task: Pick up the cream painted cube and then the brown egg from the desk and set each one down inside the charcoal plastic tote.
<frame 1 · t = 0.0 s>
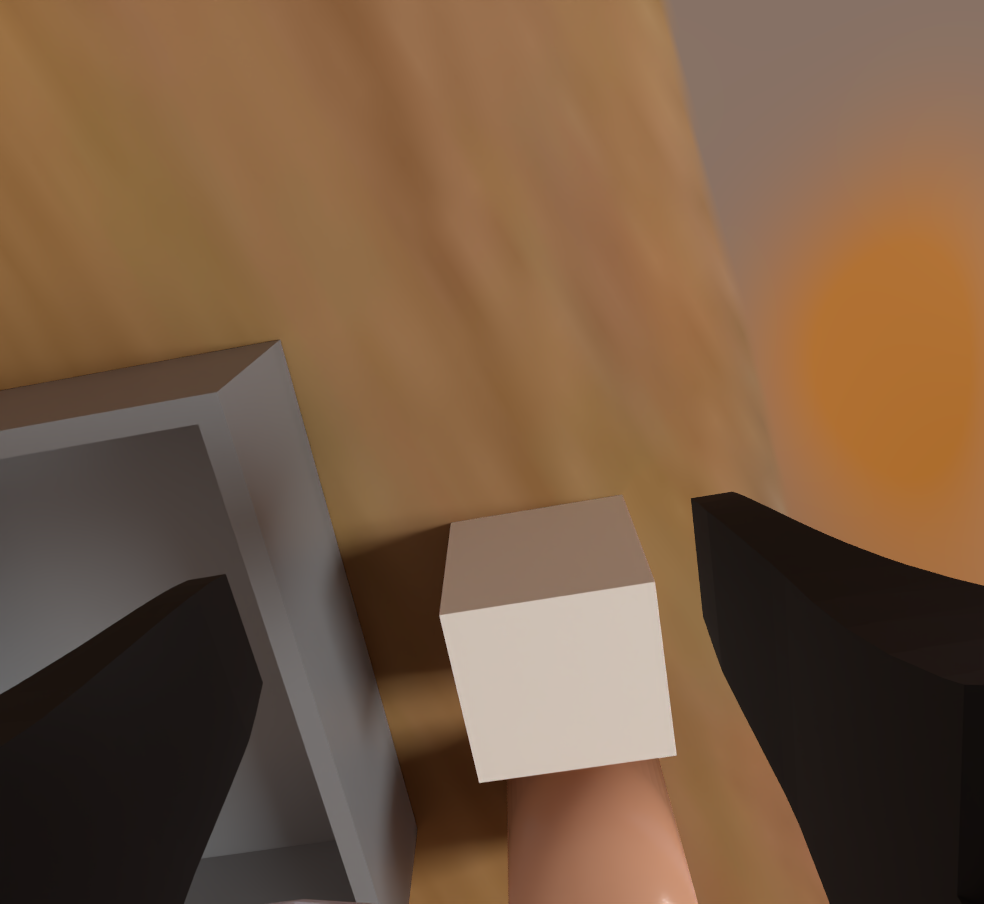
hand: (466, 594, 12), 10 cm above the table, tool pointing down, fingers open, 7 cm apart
tote: (149, 647, 24), on the table
brown egg: (582, 767, 26), on the table
cube: (549, 582, 23), on the table
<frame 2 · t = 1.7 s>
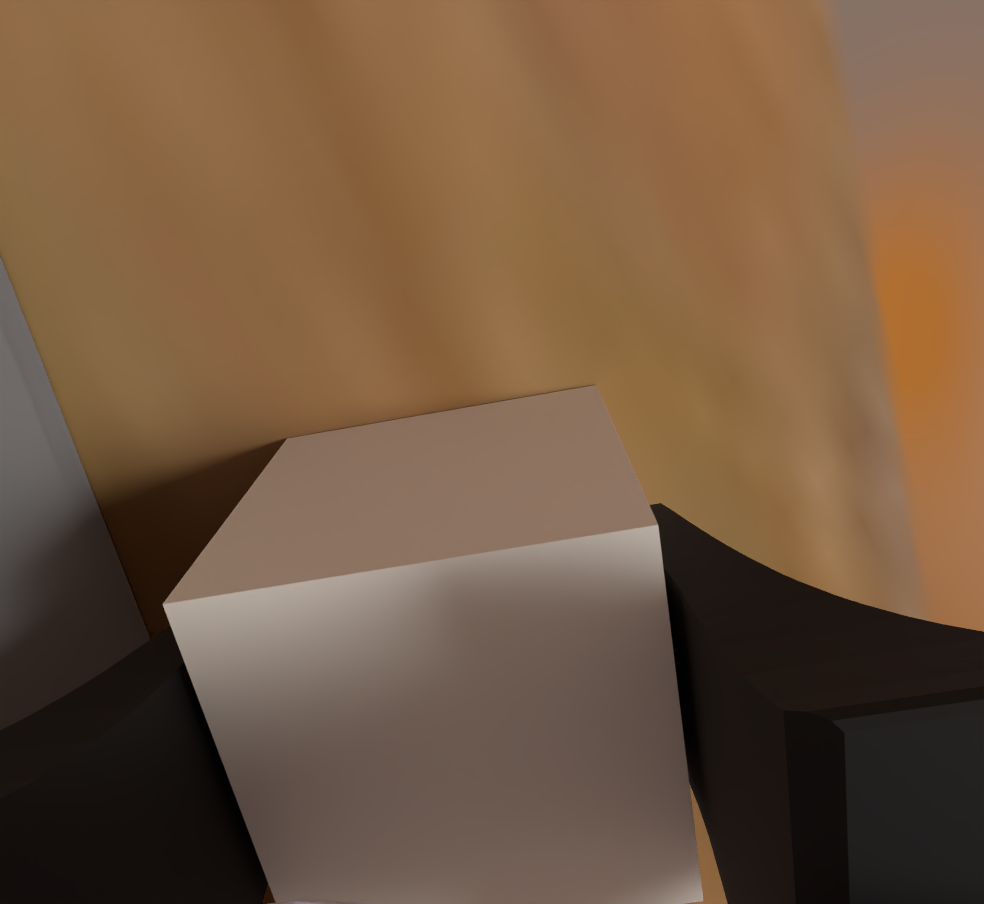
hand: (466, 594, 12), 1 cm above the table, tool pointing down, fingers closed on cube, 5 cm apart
cube: (469, 550, 13), on the table, touching gripper
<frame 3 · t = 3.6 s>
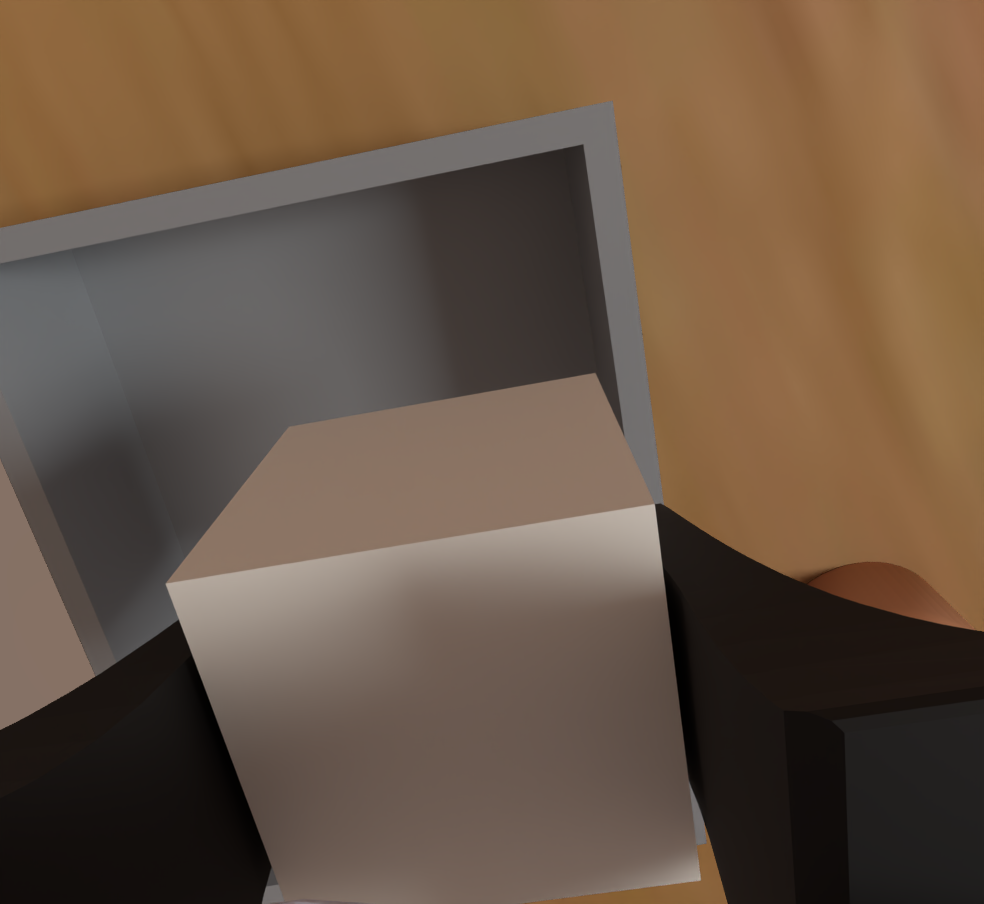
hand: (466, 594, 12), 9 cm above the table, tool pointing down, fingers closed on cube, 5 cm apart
tote: (393, 496, 22), on the table
brown egg: (858, 636, 23), on the table
cube: (469, 538, 13), point 8 cm above the table, touching gripper
when the fingers open (4 cm above the table, at t = 5.3 s): cube drops 2 cm, resting on tote.
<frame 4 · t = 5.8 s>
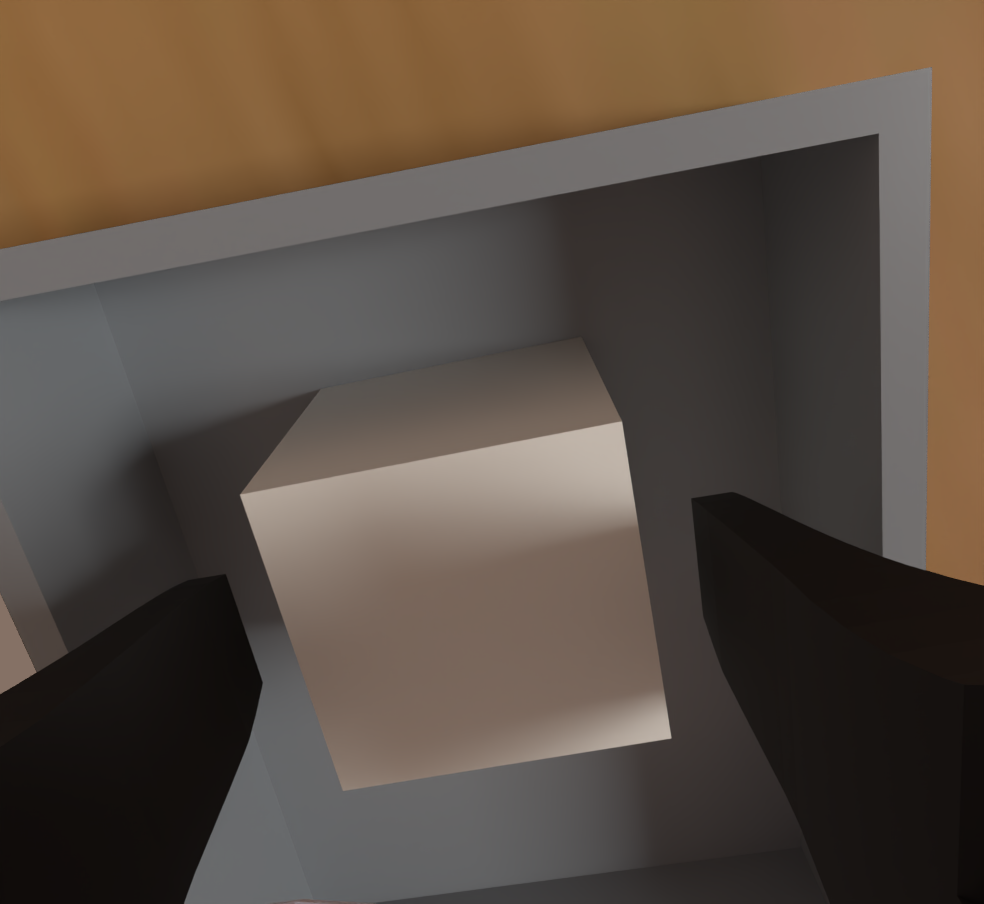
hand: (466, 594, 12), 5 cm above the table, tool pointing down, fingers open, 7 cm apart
tote: (496, 585, 17), on the table
cube: (477, 483, 16), point 1 cm above the table, touching tote
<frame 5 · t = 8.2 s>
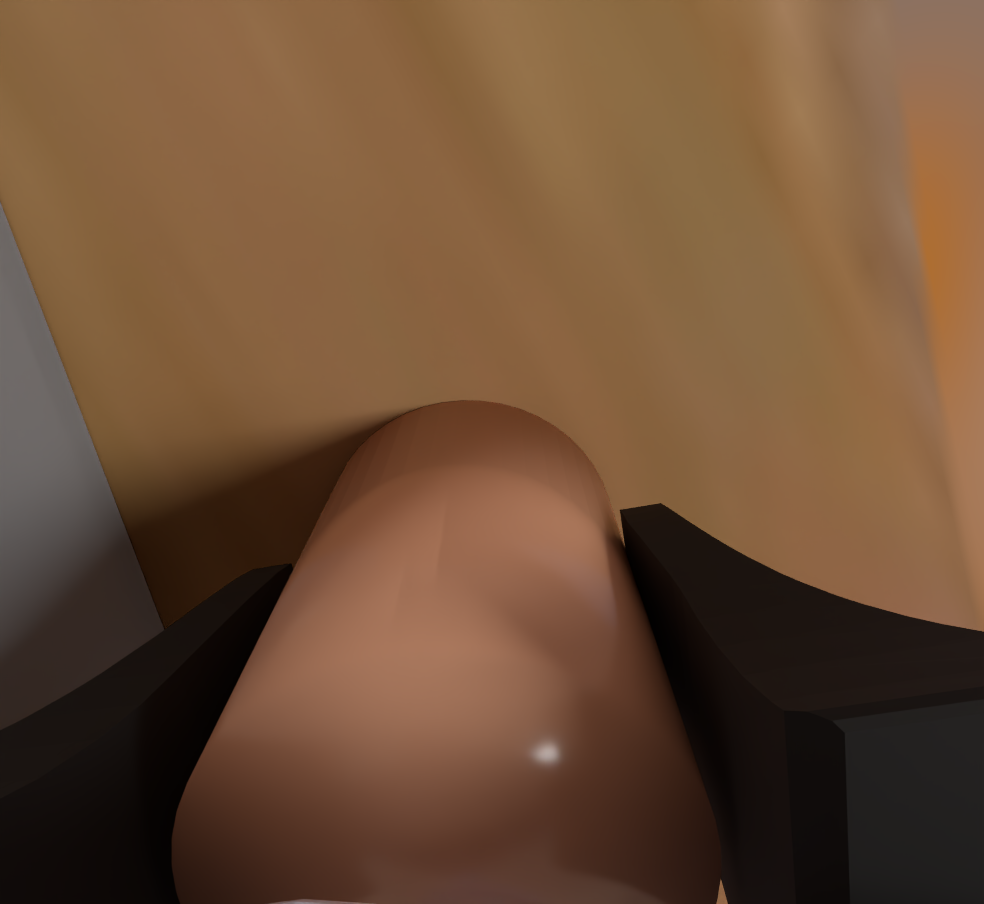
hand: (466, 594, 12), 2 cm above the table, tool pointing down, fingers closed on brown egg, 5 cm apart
brown egg: (470, 537, 14), on the table, touching gripper
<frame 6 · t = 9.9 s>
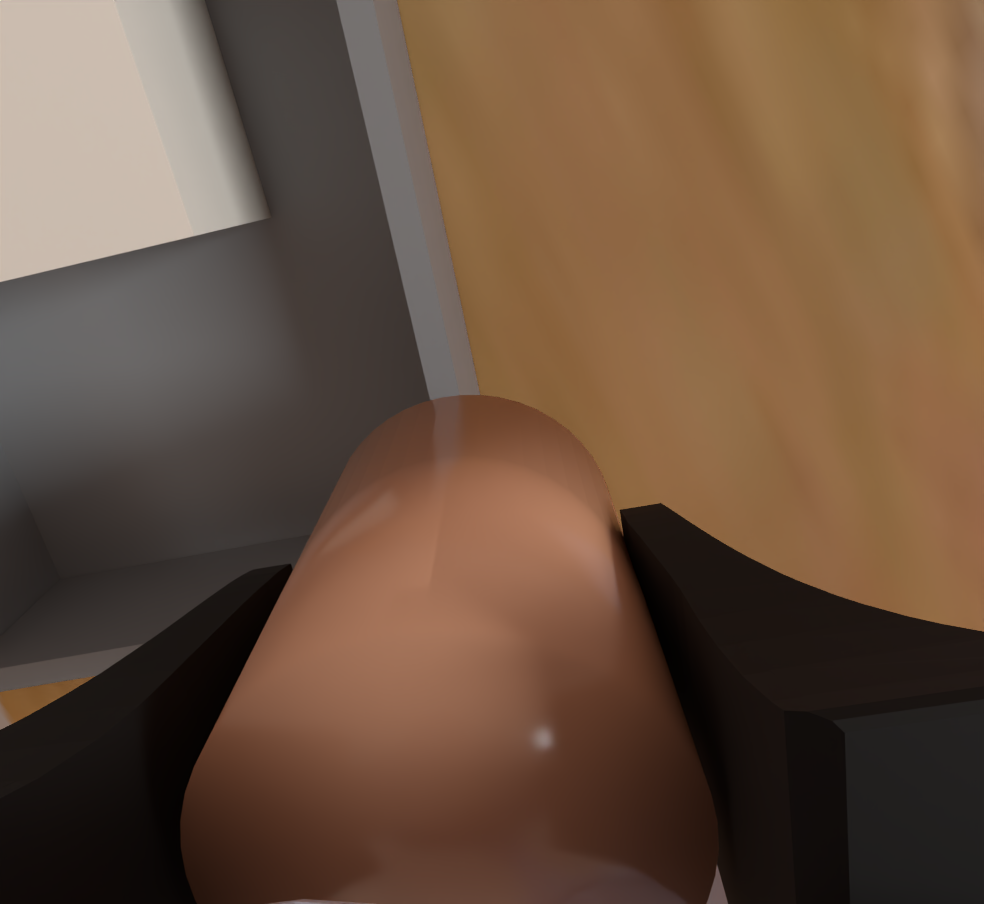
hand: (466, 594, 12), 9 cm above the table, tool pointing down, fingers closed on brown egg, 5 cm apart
tote: (177, 246, 19), on the table
brown egg: (472, 530, 14), point 7 cm above the table, touching gripper
cube: (133, 131, 18), point 1 cm above the table, touching tote
when the fingers open (6 cm above the table, at t = 11.5 s): brown egg drops 3 cm, resting on tote.
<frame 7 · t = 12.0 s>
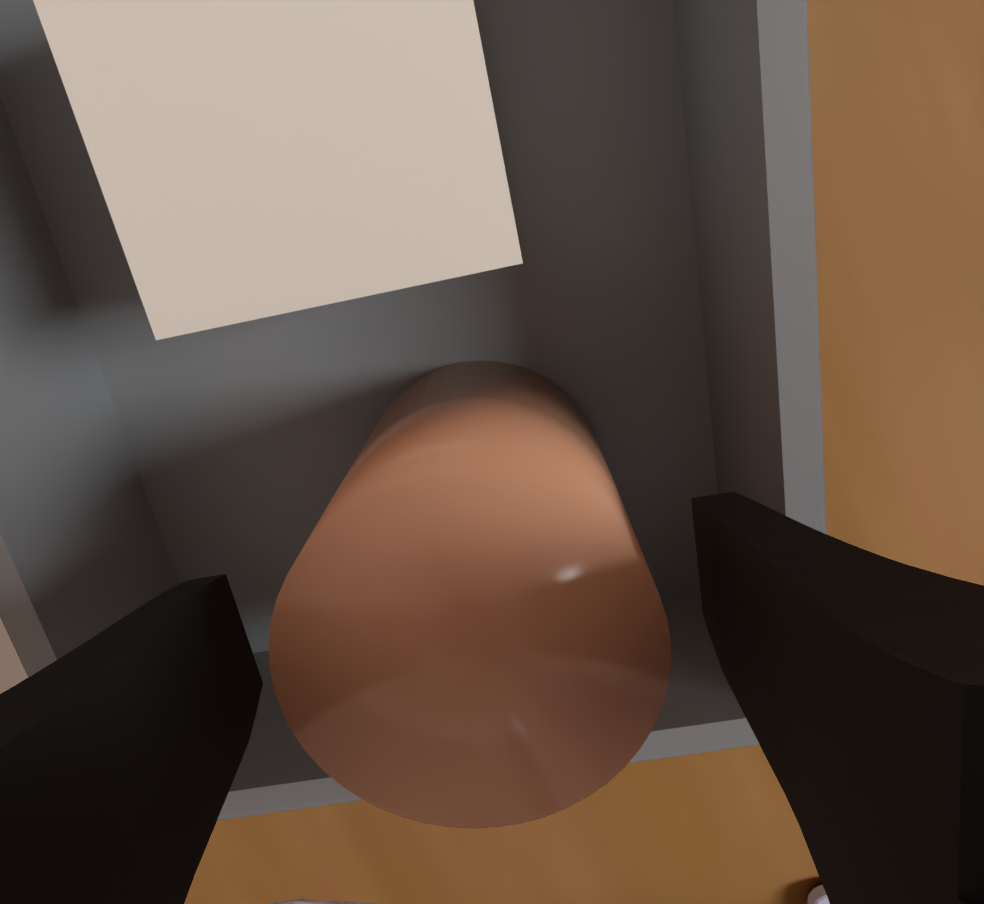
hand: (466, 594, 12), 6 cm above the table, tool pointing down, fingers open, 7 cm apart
tote: (384, 264, 16), on the table
brown egg: (483, 478, 16), point 1 cm above the table, touching tote
cube: (351, 118, 14), point 1 cm above the table, touching tote
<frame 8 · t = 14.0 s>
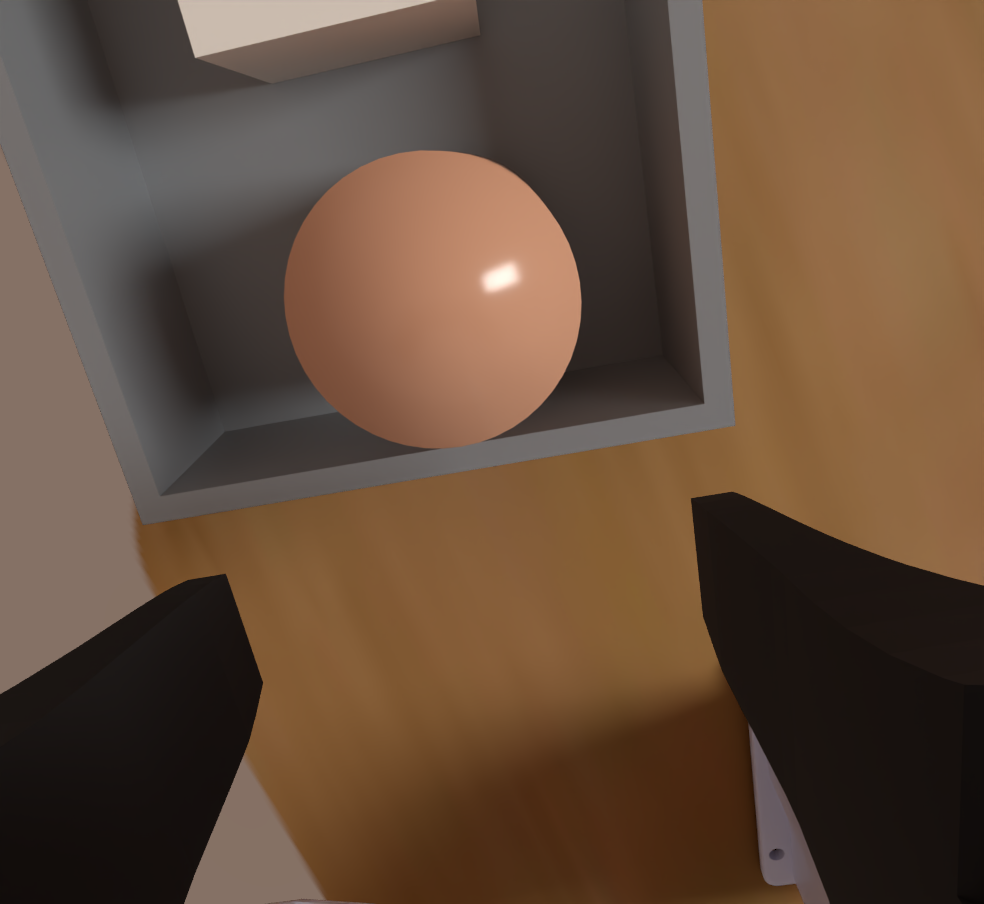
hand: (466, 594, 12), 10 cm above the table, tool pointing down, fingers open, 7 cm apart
tote: (373, 71, 19), on the table
brown egg: (457, 258, 20), point 1 cm above the table, touching tote
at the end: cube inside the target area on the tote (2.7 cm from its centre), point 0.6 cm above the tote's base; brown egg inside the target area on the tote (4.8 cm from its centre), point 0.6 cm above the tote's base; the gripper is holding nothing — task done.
